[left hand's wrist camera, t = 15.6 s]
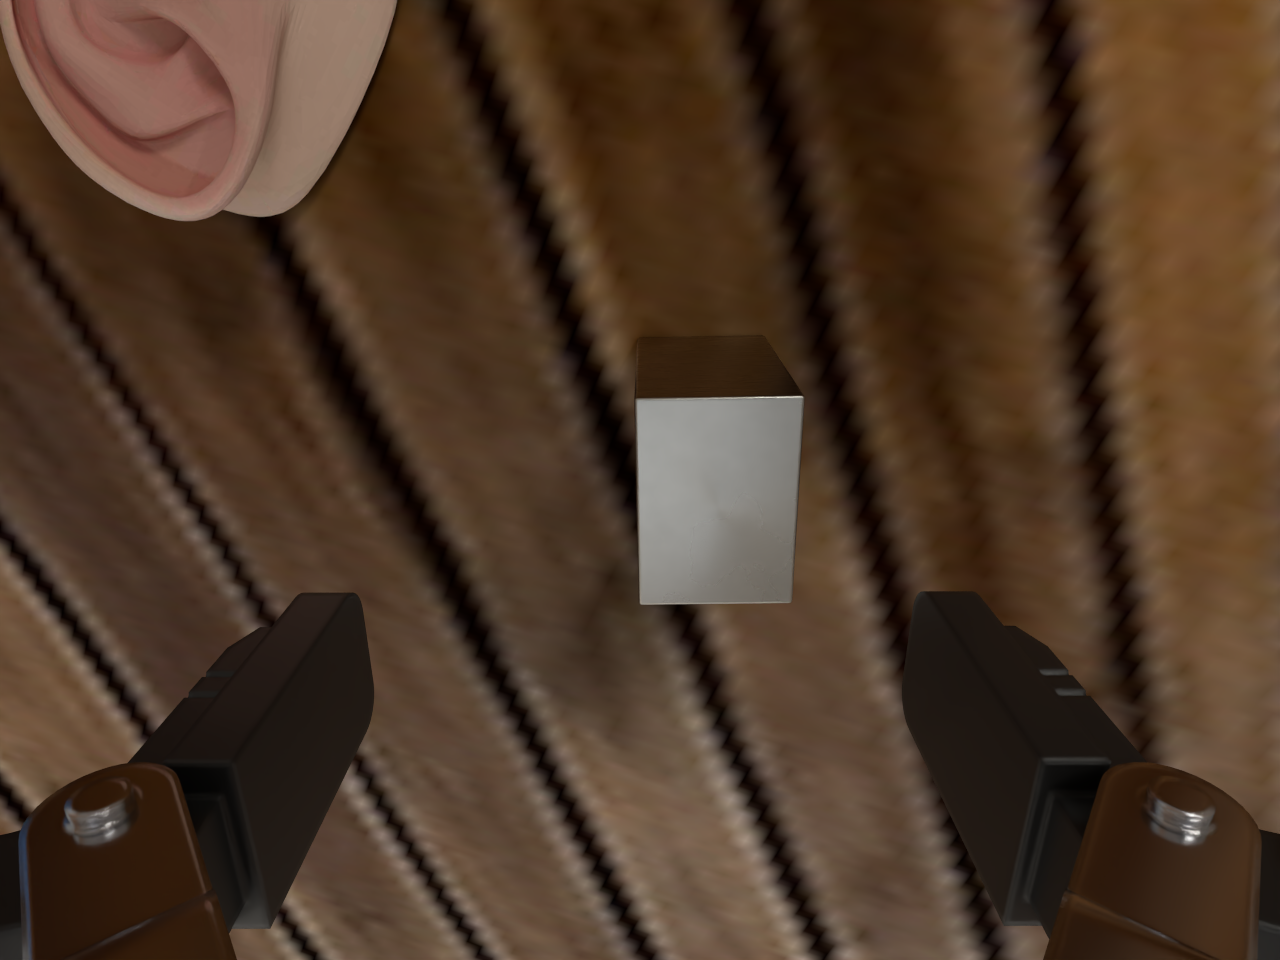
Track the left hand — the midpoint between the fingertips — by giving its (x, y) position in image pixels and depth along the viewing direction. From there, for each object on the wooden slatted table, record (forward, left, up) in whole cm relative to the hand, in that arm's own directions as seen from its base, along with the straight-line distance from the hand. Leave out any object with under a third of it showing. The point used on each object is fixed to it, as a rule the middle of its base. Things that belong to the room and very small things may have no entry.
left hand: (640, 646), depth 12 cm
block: (-2, +3, -19) cm, 19 cm away
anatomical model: (+10, -15, -19) cm, 26 cm away
